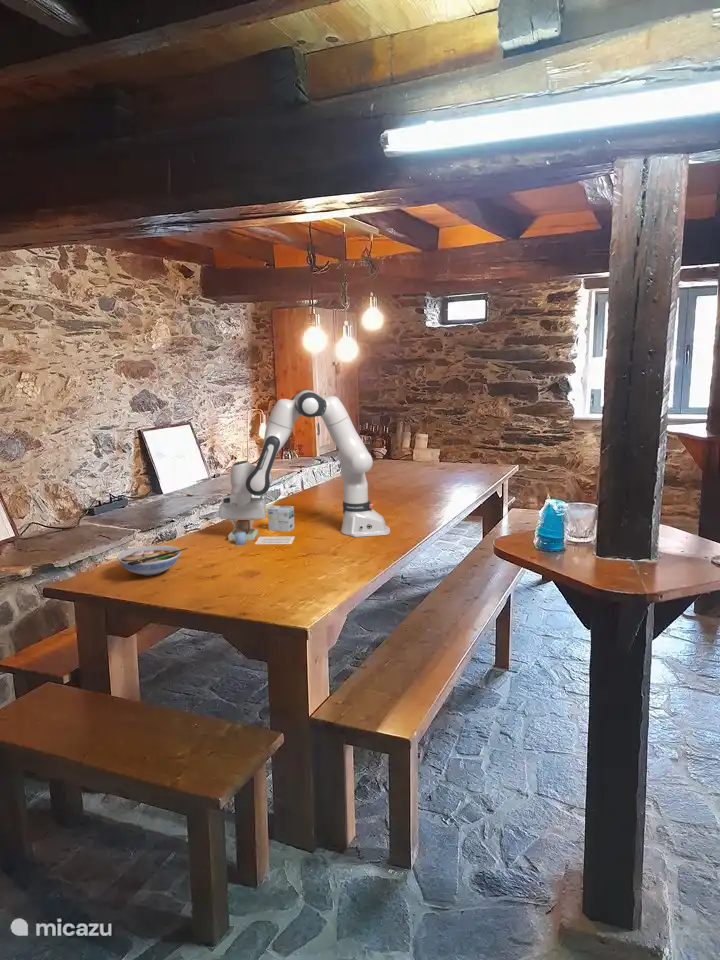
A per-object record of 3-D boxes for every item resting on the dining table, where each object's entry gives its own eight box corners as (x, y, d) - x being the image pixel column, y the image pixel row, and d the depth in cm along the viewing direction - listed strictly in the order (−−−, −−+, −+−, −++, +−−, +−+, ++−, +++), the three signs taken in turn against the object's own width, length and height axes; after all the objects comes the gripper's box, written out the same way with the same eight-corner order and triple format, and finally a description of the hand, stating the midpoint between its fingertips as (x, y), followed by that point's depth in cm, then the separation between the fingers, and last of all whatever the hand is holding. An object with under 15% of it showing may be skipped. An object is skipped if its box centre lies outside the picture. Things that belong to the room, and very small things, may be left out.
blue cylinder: (247, 542, 286) (246, 531, 285) (245, 545, 281) (244, 534, 280) (236, 542, 286) (236, 531, 285) (234, 545, 281) (234, 534, 280)
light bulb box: (294, 528, 308) (294, 505, 306) (289, 532, 302) (288, 509, 300) (273, 527, 311) (272, 504, 309) (268, 530, 305) (267, 507, 303)
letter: (295, 536, 294) (295, 536, 293) (291, 544, 282) (291, 543, 282) (259, 537, 294) (259, 536, 294) (254, 544, 282) (254, 544, 282)
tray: (258, 534, 299) (257, 528, 299) (253, 540, 288) (253, 535, 288) (234, 534, 299) (233, 528, 299) (228, 540, 289) (228, 535, 288)
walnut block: (249, 530, 296) (249, 519, 295) (247, 533, 291) (247, 522, 290) (238, 530, 296) (238, 519, 295) (236, 533, 291) (235, 522, 290)
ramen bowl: (161, 559, 264) (160, 539, 262) (197, 570, 249) (196, 549, 248) (103, 575, 245) (101, 554, 243) (138, 588, 230) (136, 565, 229)
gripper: (266, 496, 293) (267, 526, 296) (220, 496, 294) (222, 526, 296) (263, 499, 287) (265, 530, 289) (217, 499, 288) (218, 530, 290)
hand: (243, 528), depth 293 cm, fingers closed on walnut block, 5 cm apart
